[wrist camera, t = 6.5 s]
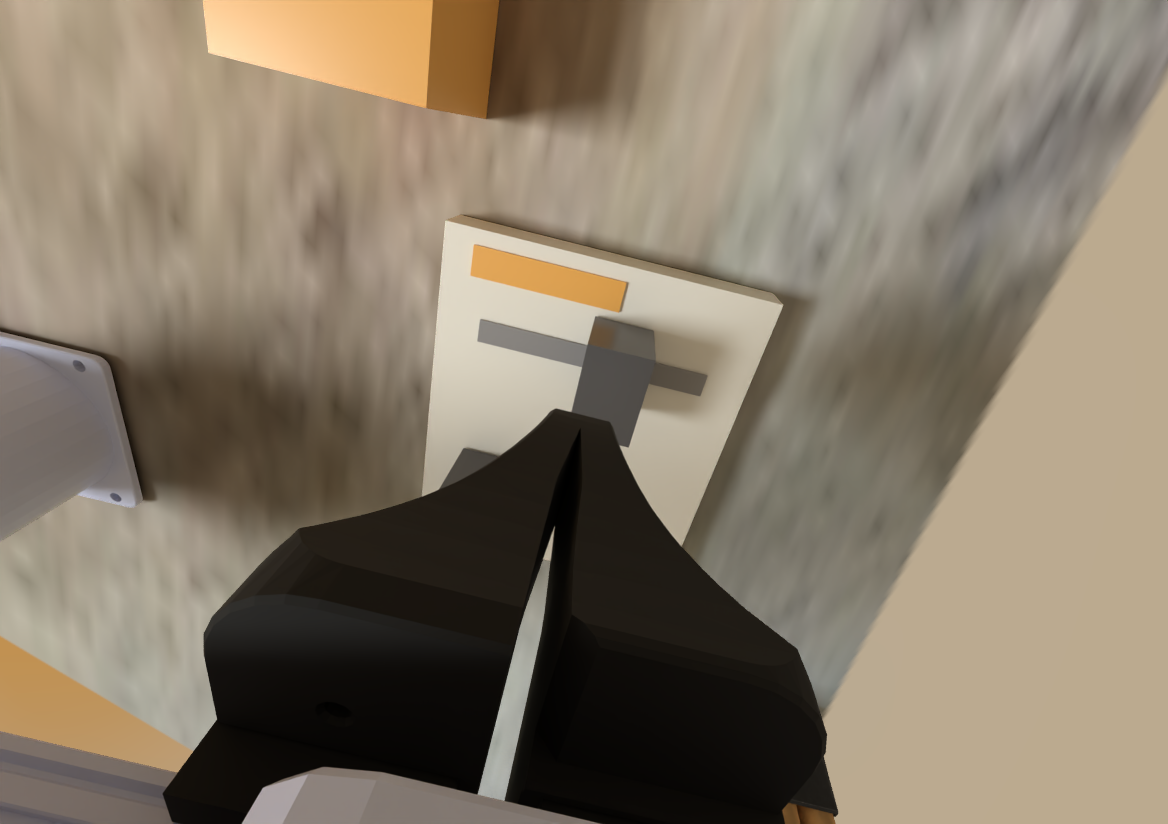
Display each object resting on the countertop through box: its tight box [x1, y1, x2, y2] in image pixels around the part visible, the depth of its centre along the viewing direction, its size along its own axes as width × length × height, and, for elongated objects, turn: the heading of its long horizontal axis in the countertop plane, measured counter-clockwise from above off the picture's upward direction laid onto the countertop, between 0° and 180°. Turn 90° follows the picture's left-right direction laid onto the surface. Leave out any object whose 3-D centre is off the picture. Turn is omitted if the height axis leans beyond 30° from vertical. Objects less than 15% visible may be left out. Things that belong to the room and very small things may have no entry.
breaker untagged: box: [439, 448, 499, 489], centre depth 19 cm, size 2×3×3 cm, turn 167°
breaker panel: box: [422, 215, 783, 561], centre depth 20 cm, size 11×13×2 cm
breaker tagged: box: [571, 316, 656, 448], centre depth 16 cm, size 2×3×3 cm, turn 167°
